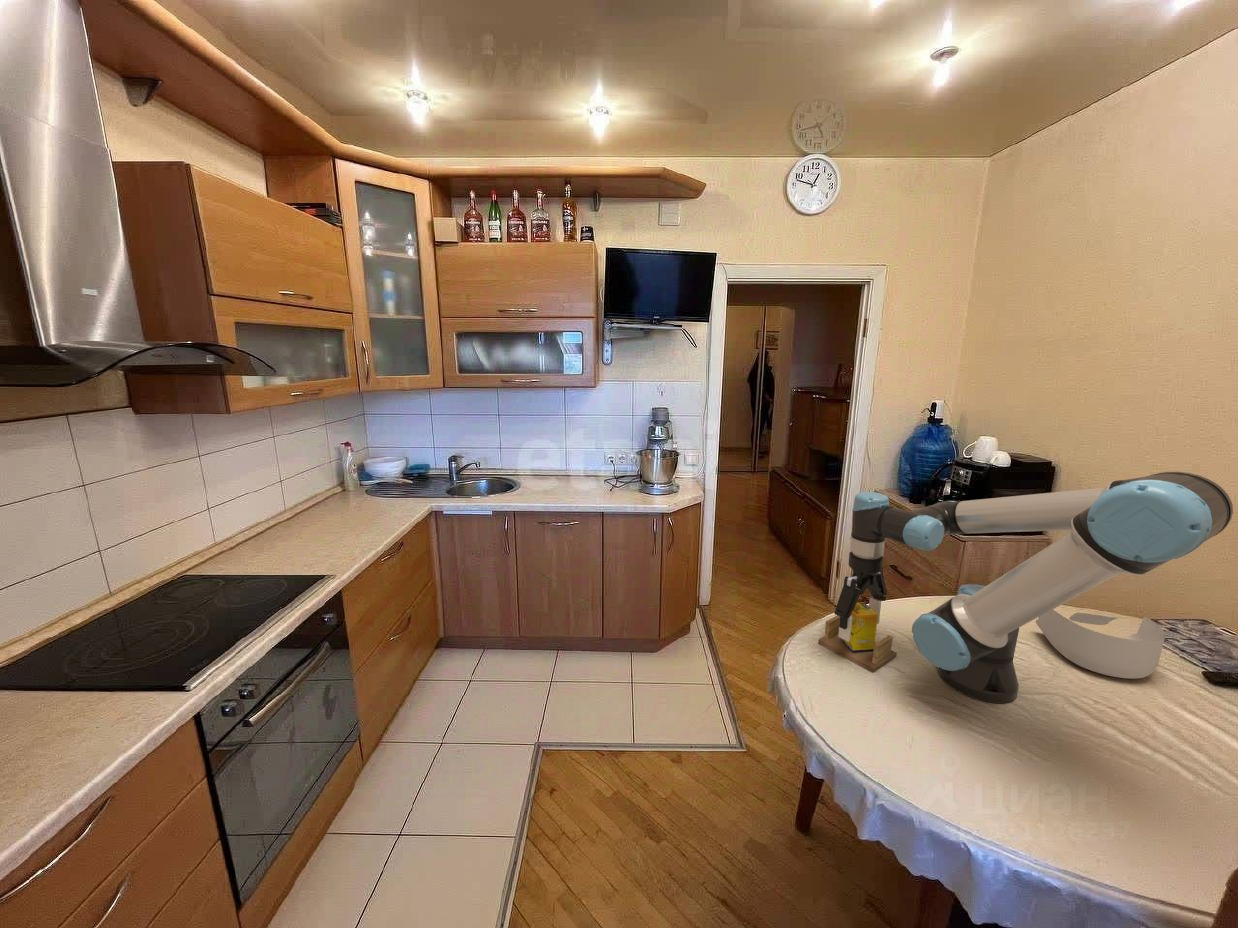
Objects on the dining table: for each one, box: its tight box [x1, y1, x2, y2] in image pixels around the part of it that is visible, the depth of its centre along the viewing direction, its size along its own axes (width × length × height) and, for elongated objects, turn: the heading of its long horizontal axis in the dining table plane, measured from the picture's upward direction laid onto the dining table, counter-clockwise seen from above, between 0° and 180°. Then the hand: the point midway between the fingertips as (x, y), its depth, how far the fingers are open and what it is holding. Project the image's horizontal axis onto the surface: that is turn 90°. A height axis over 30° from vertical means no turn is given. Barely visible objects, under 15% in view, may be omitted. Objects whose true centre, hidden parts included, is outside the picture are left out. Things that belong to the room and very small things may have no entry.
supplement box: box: [840, 601, 878, 653], centre depth 124 cm, size 6×6×11 cm
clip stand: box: [817, 615, 898, 674], centre depth 124 cm, size 15×11×6 cm
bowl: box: [1035, 609, 1166, 680], centre depth 118 cm, size 20×19×12 cm
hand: (859, 629), depth 124 cm, fingers open, 13 cm apart
